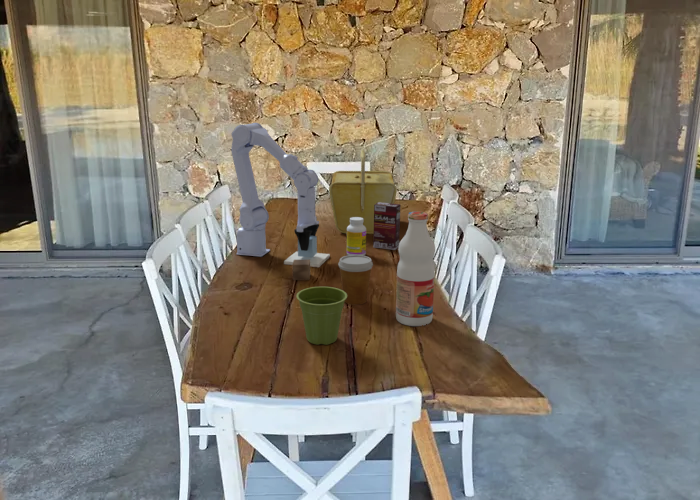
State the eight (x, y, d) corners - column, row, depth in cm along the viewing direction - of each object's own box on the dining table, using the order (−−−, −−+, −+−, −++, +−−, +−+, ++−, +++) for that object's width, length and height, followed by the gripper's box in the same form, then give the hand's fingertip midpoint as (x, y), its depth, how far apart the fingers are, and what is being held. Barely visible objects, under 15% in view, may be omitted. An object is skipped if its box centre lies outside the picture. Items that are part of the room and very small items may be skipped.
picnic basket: (395, 235, 242) (398, 157, 234) (328, 235, 242) (328, 157, 234) (392, 218, 270) (393, 147, 262) (331, 217, 270) (331, 147, 262)
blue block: (297, 256, 208) (297, 238, 206) (302, 252, 213) (302, 235, 211) (312, 257, 207) (312, 239, 205) (316, 253, 212) (316, 236, 210)
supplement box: (372, 247, 226) (373, 204, 221) (377, 244, 230) (378, 201, 225) (395, 250, 223) (396, 206, 218) (399, 247, 227) (401, 203, 222)
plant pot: (288, 345, 146) (287, 300, 143) (309, 326, 157) (309, 283, 154) (335, 353, 142) (335, 307, 139) (354, 333, 153) (354, 290, 150)
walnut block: (292, 280, 191) (292, 264, 190) (294, 274, 196) (294, 259, 195) (309, 280, 191) (309, 264, 190) (310, 275, 196) (310, 259, 195)
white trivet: (284, 264, 206) (283, 261, 206) (296, 254, 217) (296, 251, 217) (318, 267, 203) (318, 264, 203) (329, 256, 214) (329, 254, 214)
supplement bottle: (363, 258, 213) (364, 221, 210) (344, 257, 215) (344, 220, 211) (367, 252, 220) (367, 216, 216) (348, 251, 221) (349, 215, 217)
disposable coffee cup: (376, 297, 177) (377, 256, 174) (366, 308, 169) (366, 266, 165) (344, 293, 180) (344, 253, 177) (333, 304, 172) (333, 262, 168)
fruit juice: (401, 310, 167) (405, 208, 160) (436, 316, 164) (441, 211, 156) (390, 323, 159) (393, 215, 151) (427, 329, 156) (432, 219, 148)
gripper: (311, 213, 198) (311, 254, 201) (325, 204, 211) (325, 243, 215) (290, 212, 199) (290, 253, 203) (305, 202, 213) (305, 241, 217)
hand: (307, 247), depth 209 cm, fingers closed on blue block, 5 cm apart
